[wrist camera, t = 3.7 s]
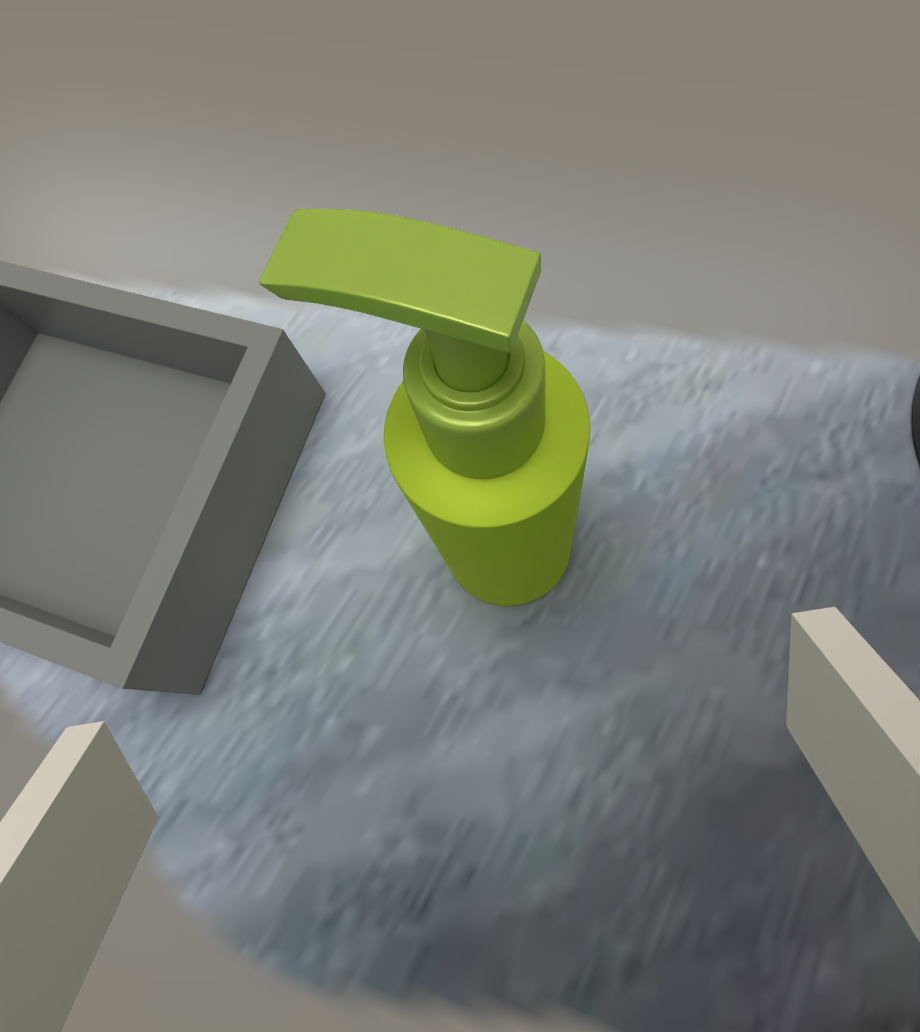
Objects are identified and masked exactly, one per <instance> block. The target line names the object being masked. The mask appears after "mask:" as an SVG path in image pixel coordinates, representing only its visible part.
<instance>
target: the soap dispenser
mask: <svg viewBox="0 0 920 1032" xmlns="http://www.w3.org/2000/svg"><path fill="white" fill-rule="evenodd" d="M540 271H541V254H540V253H539V252H536V251H533V250H529V249H525V248H522V247H519V246H515V245H512V244H508V243H505V242H501V241H498V240H494V239H490V238H487V237H483V236H479V235H476V234H472V233H468V232H465V231H461V230H457V229H453V228H449V227H445V226H441V225H437V224H433V223H429V222H424V221H420V220H416V219H410V218H406V217H401V216H395V215H390V214H383V213H376V212H368V211H359V210H346V209H298V210H295V211H294V212H293V213H292V215H291V217H290V219H289V221H288V223H287V225H286V227H285V229H284V231H283V233H282V235H281V237H280V239H279V241H278V243H277V245H276V247H275V249H274V251H273V253H272V255H271V257H270V259H269V262H268V264H267V266H266V268H265V270H264V272H263V274H262V276H261V278H260V281H259V283H260V285H262V286H263V287H265V288H266V289H268V290H269V291H271V292H272V293H274V294H275V295H277V296H278V297H280V298H282V299H286V300H294V301H303V302H311V303H318V304H324V305H330V306H335V307H340V308H344V309H349V310H353V311H358V312H362V313H366V314H370V315H374V316H377V317H381V318H385V319H388V320H392V321H396V322H399V323H403V324H407V325H410V326H414V327H417V328H421V329H420V330H419V332H418V333H417V334H416V335H415V337H414V338H413V340H412V341H411V343H410V345H409V347H408V350H407V352H406V355H405V359H404V365H403V382H402V383H401V385H400V386H399V388H398V389H397V391H396V393H395V395H394V397H393V399H392V401H391V403H390V406H389V409H388V412H387V416H386V421H385V427H384V446H385V453H386V458H387V461H388V464H389V467H390V470H391V472H392V474H393V476H394V478H395V480H396V482H397V484H398V485H399V487H400V489H401V490H402V492H403V493H404V495H405V497H406V498H407V500H408V502H409V503H410V505H411V507H412V508H413V510H414V511H415V513H416V515H417V516H418V518H419V520H420V521H421V523H422V524H423V526H424V528H425V529H426V531H427V533H428V534H429V536H430V538H431V539H432V541H433V542H434V544H435V546H436V547H437V549H438V551H439V552H440V554H441V555H442V557H443V559H444V560H445V562H446V564H447V565H448V567H449V569H450V570H451V572H452V573H453V575H454V577H455V578H456V580H457V581H458V582H459V584H460V585H461V586H462V587H463V588H464V589H465V590H466V591H467V592H469V593H470V594H471V595H473V596H474V597H476V598H478V599H480V600H482V601H484V602H487V603H490V604H494V605H500V606H515V605H522V604H526V603H529V602H532V601H534V600H536V599H538V598H540V597H542V596H543V595H545V594H546V593H547V592H549V591H550V590H551V589H552V588H553V587H554V586H555V585H556V584H557V583H558V581H559V580H560V579H561V577H562V576H563V574H564V572H565V570H566V568H567V565H568V563H569V559H570V554H571V548H572V542H573V536H574V530H575V524H576V519H577V513H578V507H579V501H580V495H581V489H582V483H583V477H584V471H585V465H586V459H587V453H588V447H589V440H590V418H589V412H588V408H587V404H586V401H585V398H584V396H583V393H582V391H581V389H580V387H579V386H578V384H577V382H576V381H575V379H574V378H573V376H572V375H571V374H570V373H569V372H568V370H567V369H566V368H565V367H564V366H563V365H562V364H561V363H560V362H558V361H557V360H556V359H555V358H553V357H552V356H550V355H549V354H547V353H546V352H544V351H543V349H542V346H541V344H540V341H539V339H538V337H537V335H536V334H535V332H534V331H533V330H532V328H531V327H530V326H529V325H528V324H527V323H526V322H525V321H524V320H523V319H524V316H525V313H526V311H527V308H528V305H529V302H530V300H531V297H532V294H533V291H534V288H535V286H536V283H537V281H538V278H539V275H540Z"/></svg>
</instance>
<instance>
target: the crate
mask: <svg viewBox="0 0 920 1032" xmlns="http://www.w3.org/2000/svg"><path fill="white" fill-rule="evenodd" d="M324 395H325V392H324V390H323V389H322V387H321V386H320V384H319V383H318V381H317V380H316V378H315V377H314V375H313V374H312V372H311V371H310V369H309V368H308V366H307V365H306V363H305V362H304V360H303V359H302V357H301V356H300V354H299V353H298V351H297V350H296V348H295V347H294V345H293V344H292V342H291V341H290V339H289V338H288V336H287V335H286V333H285V332H284V330H283V329H280V328H276V327H271V326H267V325H263V324H259V323H255V322H251V321H246V320H242V319H238V318H234V317H230V316H226V315H222V314H217V313H213V312H209V311H205V310H201V309H197V308H193V307H188V306H184V305H180V304H176V303H172V302H168V301H164V300H159V299H155V298H151V297H147V296H143V295H139V294H135V293H130V292H126V291H122V290H118V289H114V288H110V287H106V286H101V285H97V284H93V283H89V282H85V281H81V280H77V279H72V278H68V277H64V276H60V275H56V274H52V273H48V272H43V271H39V270H35V269H31V268H27V267H23V266H18V265H14V264H10V263H6V262H2V261H0V642H2V643H5V644H7V645H10V646H13V647H15V648H18V649H21V650H23V651H26V652H28V653H31V654H34V655H36V656H39V657H41V658H44V659H47V660H49V661H52V662H54V663H57V664H60V665H62V666H65V667H68V668H70V669H73V670H75V671H78V672H81V673H83V674H86V675H88V676H91V677H94V678H96V679H99V680H101V681H104V682H107V683H109V684H112V685H114V686H117V687H120V688H122V689H135V690H148V691H161V692H174V693H187V694H200V693H201V691H202V688H203V686H204V683H205V681H206V679H207V676H208V674H209V671H210V669H211V667H212V664H213V662H214V659H215V657H216V655H217V652H218V650H219V647H220V645H221V643H222V640H223V638H224V635H225V633H226V631H227V628H228V626H229V623H230V621H231V619H232V616H233V614H234V611H235V609H236V607H237V604H238V602H239V599H240V597H241V595H242V592H243V590H244V587H245V585H246V583H247V580H248V578H249V575H250V573H251V571H252V568H253V566H254V563H255V561H256V559H257V556H258V554H259V551H260V549H261V547H262V544H263V542H264V539H265V537H266V535H267V532H268V530H269V527H270V525H271V523H272V520H273V518H274V515H275V513H276V511H277V508H278V506H279V503H280V501H281V499H282V496H283V494H284V491H285V489H286V487H287V484H288V482H289V479H290V477H291V475H292V472H293V470H294V467H295V465H296V463H297V460H298V458H299V455H300V453H301V451H302V448H303V446H304V443H305V441H306V439H307V436H308V434H309V431H310V429H311V427H312V424H313V422H314V419H315V417H316V415H317V412H318V410H319V407H320V405H321V403H322V400H323V398H324Z"/></svg>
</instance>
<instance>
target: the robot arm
mask: <svg viewBox="0 0 920 1032" xmlns="http://www.w3.org/2000/svg"><path fill="white" fill-rule="evenodd" d="M913 432H914V439H915V445H916V449H917V453H918V457H919V460H920V378H919V381H918V385H917V388H916V392H915V397H914V405H913ZM786 726H787V728H788V730H789V731H790V733H791V735H792V736H793V738H794V739H795V741H796V743H797V744H798V746H799V747H800V749H801V751H802V752H803V754H804V756H805V757H806V759H807V760H808V762H809V764H810V765H811V767H812V769H813V770H814V772H815V773H816V775H817V777H818V778H819V780H820V782H821V783H822V785H823V786H824V788H825V790H826V791H827V793H828V794H829V796H830V798H831V799H832V801H833V803H834V804H835V806H836V807H837V809H838V811H839V812H840V814H841V816H842V817H843V819H844V820H845V822H846V824H847V825H848V827H849V829H850V830H851V832H852V833H853V835H854V837H855V838H856V840H857V842H858V843H859V845H860V846H861V848H862V850H863V851H864V853H865V854H866V856H867V858H868V859H869V861H870V863H871V864H872V866H873V867H874V869H875V871H876V872H877V874H878V876H879V877H880V879H881V880H882V882H883V884H884V885H885V887H886V889H887V890H888V892H889V893H890V895H891V897H892V898H893V900H894V901H895V903H896V905H897V906H898V908H899V910H900V911H901V913H902V914H903V916H904V918H905V919H906V921H907V923H908V924H909V926H910V927H911V929H912V931H913V932H914V934H915V936H916V937H917V939H918V940H919V942H920V700H919V699H918V698H917V697H916V696H915V695H914V694H913V693H912V692H911V690H910V689H909V688H908V687H907V686H906V685H905V684H904V683H903V682H902V680H901V679H900V678H899V677H898V676H897V675H896V674H895V673H894V672H893V670H892V669H891V668H890V667H889V666H888V665H887V664H886V663H885V662H884V661H883V659H882V658H881V657H880V656H879V655H878V654H877V653H876V652H875V651H874V649H873V648H872V647H871V646H870V645H869V644H868V643H867V642H866V641H865V639H864V638H863V637H862V636H861V635H860V634H859V633H858V632H857V631H856V630H855V628H854V627H853V626H852V625H851V624H850V623H849V622H848V621H847V620H846V618H845V617H844V616H843V615H842V614H841V613H840V612H839V611H838V610H837V608H836V607H830V608H823V609H817V610H811V611H804V612H798V613H792V614H791V635H790V657H789V678H788V699H787V720H786ZM157 819H158V815H157V814H156V812H155V810H154V808H153V807H152V805H151V803H150V801H149V800H148V798H147V796H146V794H145V792H144V791H143V789H142V787H141V785H140V784H139V782H138V780H137V778H136V777H135V775H134V773H133V771H132V770H131V768H130V766H129V764H128V763H127V761H126V759H125V757H124V756H123V754H122V752H121V750H120V749H119V747H118V745H117V743H116V741H115V740H114V738H113V736H112V734H111V733H110V731H109V729H108V727H107V726H106V724H105V722H104V721H103V722H96V723H90V724H83V725H77V726H71V727H67V728H66V729H65V731H64V732H63V733H62V735H61V736H60V738H59V739H58V741H57V742H56V743H55V745H54V746H53V748H52V749H51V751H50V752H49V753H48V755H47V756H46V758H45V759H44V761H43V762H42V763H41V765H40V766H39V768H38V769H37V771H36V772H35V773H34V775H33V776H32V778H31V779H30V781H29V782H28V784H27V785H26V786H25V788H24V789H23V791H22V792H21V793H20V795H19V797H18V798H17V799H16V801H15V802H14V804H13V805H12V806H11V808H10V809H9V811H8V812H7V814H6V815H5V817H4V818H3V819H2V821H1V822H0V1032H61V1030H62V1028H63V1025H64V1023H65V1021H66V1019H67V1017H68V1015H69V1012H70V1010H71V1008H72V1006H73V1004H74V1001H75V999H76V997H77V995H78V992H79V990H80V988H81V986H82V984H83V982H84V979H85V977H86V975H87V973H88V971H89V968H90V966H91V964H92V962H93V960H94V957H95V955H96V953H97V951H98V949H99V947H100V944H101V942H102V940H103V938H104V935H105V933H106V931H107V929H108V927H109V925H110V922H111V920H112V918H113V916H114V914H115V911H116V909H117V907H118V905H119V903H120V901H121V898H122V896H123V894H124V892H125V889H126V887H127V885H128V883H129V881H130V879H131V876H132V874H133V872H134V870H135V868H136V865H137V863H138V861H139V859H140V857H141V854H142V852H143V850H144V848H145V846H146V844H147V841H148V839H149V837H150V835H151V833H152V830H153V828H154V826H155V824H156V822H157Z"/></svg>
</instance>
